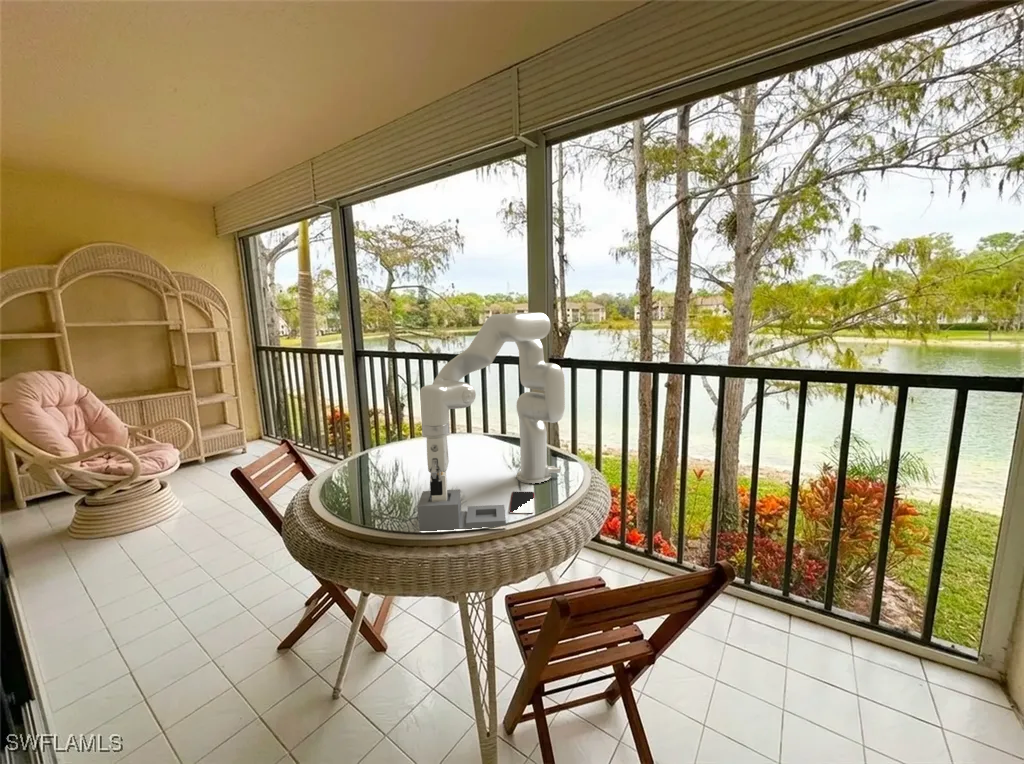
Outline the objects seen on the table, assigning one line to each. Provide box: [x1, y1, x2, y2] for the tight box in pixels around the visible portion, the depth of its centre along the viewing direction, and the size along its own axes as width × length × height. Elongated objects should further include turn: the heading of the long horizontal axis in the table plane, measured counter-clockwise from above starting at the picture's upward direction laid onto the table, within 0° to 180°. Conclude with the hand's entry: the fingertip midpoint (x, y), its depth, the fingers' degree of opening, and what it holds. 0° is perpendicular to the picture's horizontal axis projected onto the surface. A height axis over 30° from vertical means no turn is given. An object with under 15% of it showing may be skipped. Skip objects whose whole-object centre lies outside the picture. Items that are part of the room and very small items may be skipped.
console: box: [417, 489, 507, 532], centre depth 121 cm, size 24×10×8 cm, turn 94°
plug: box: [432, 471, 448, 502], centre depth 120 cm, size 4×3×9 cm
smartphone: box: [509, 491, 535, 513], centre depth 134 cm, size 7×1×15 cm
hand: (438, 487), depth 120 cm, fingers open, 9 cm apart
